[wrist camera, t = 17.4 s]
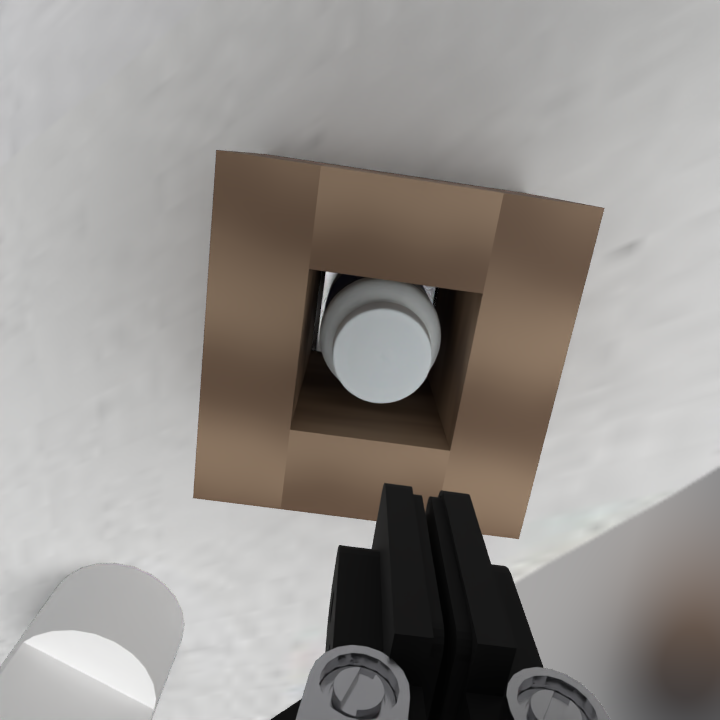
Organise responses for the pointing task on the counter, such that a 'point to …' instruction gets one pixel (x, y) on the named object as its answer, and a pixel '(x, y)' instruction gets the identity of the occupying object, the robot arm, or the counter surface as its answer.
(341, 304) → the pill bottle
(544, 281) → the socket block
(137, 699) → the cylinder with rectangular tab
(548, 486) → the counter surface
